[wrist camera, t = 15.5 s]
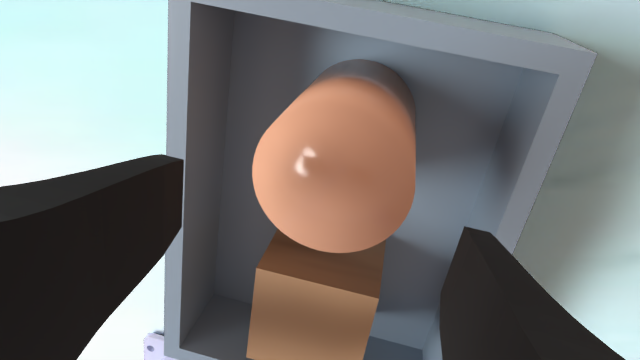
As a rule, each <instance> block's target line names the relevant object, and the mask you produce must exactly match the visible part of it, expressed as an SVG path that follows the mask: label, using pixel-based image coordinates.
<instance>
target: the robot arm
mask: <svg viewBox="0 0 640 360" xmlns="http://www.w3.org/2000/svg"><path fill="white" fill-rule="evenodd" d="M183 173H184V160H183V159H179V158H175V157H171V156H167V155H162V154H161V155H153V156H147V157H142V158H137V159H133V160H129V161H125V162H121V163H117V164H113V165H109V166H105V167H101V168H97V169H92V170H88V171H84V172H79V173H75V174H70V175H65V176H61V177H56V178H51V179H47V180H42V181H36V182H30V183H24V184H18V185H10V186H3V187H0V360H77V358H78V357H79V355H80V354H81V353H82V351H83V350H84V348H85V347H86V346H87V344H88V343H89V342H90V340H91V339H92V337H93V336H94V335H95V333H96V332H97V331H98V329H99V328H100V327H101V326H102V325H103V323H104V322H105V321H106V320H107V318H108V317H109V316H110V315H111V314H112V313H113V312H114V311H115V309H116V308H117V307H118V306H119V305H120V304H121V303H122V302H123V301H124V299H125V298H126V297H127V296H128V295H129V294H130V293H131V292H132V290H133V289H134V288H135V287H136V286H137V285H138V284H139V283H140V282H141V280H142V279H143V278H144V277H145V276H146V275H147V274H148V273H149V271H150V270H151V269H152V268H153V267H154V266H155V265H156V263H157V262H158V261H159V260H160V259H161V258H162V256H163V255H164V254H165V252H166V251H167V249H168V248H169V246H170V245H171V243H172V242H173V240H174V238H175V237H176V235H177V234H178V232H179V230H180V229H181V227H182V205H183ZM439 330H440V341H441V351H442V360H625V359H624V358H623V357H621V356H620V355H619V354H617V353H616V352H615V351H613V350H612V349H611V348H609V347H608V346H607V345H606V344H605V343H603V342H602V341H601V340H600V339H598V338H597V337H596V336H595V335H594V334H592V333H591V332H590V331H589V330H587V329H586V328H585V327H584V326H583V325H581V324H580V323H579V322H578V321H577V320H576V319H575V318H573V317H572V316H571V315H570V314H569V313H568V312H567V311H566V310H565V309H564V308H563V307H562V306H561V305H560V304H559V303H558V302H556V301H555V300H554V299H553V298H552V297H551V296H550V295H549V294H548V293H547V292H546V291H545V290H544V289H543V288H542V287H541V286H540V285H539V284H538V283H537V282H536V281H535V280H534V278H533V277H532V276H531V275H530V274H529V273H528V272H527V271H526V270H525V269H524V268H523V267H522V266H521V264H520V263H519V262H518V261H517V260H516V259H515V258H514V257H513V256H512V255H511V253H510V252H509V251H508V250H507V249H506V248H505V247H504V246H503V245H502V244H501V243H500V242H499V241H498V239H497V238H496V237H495V236H493V235H492V234H491V233H490V232H487V231H482V230H478V229H474V228H470V227H466V226H464V228H463V231H462V234H461V237H460V239H459V242H458V245H457V248H456V251H455V253H454V256H453V259H452V262H451V265H450V267H449V270H448V273H447V276H446V279H445V282H444V284H443V287H442V290H441V295H440V320H439ZM144 360H177V359H174V358H170V357H167V356H164V336H162V335H158V334H155V333H148V334H147V335H146V337H145V338H144Z"/></svg>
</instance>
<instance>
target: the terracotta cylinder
mask: <svg viewBox="0 0 640 360" xmlns="http://www.w3.org/2000/svg"><path fill="white" fill-rule="evenodd" d="M252 177H253V185H254V189H255V193H256V196H257V199H258V201H259V203H260V205H261V207H262V209H263V211H264V212H265V214H266V215H267V217H268V218H269V219H270V221H271V222H272V223H273V224H274V225H275V226H276V227H277V228H278V229H279V230H280V231H281V232H283V233H284V234H285V235H287V236H288V237H289V238H291V239H292V240H294V241H296V242H298V243H300V244H302V245H304V246H307V247H309V248H312V249H315V250H319V251H324V252H330V253H350V252H356V251H361V250H364V249H367V248H370V247H372V246H375V245H377V244H379V243H380V242H382V241H384V240H386V239H387V238H388V237H389V236H391V235H392V234H393V233H394V232H395V231H396V230H397V229H398V228H399V227H400V226H401V224H402V223H403V221H404V220H405V219H406V217H407V215H408V213H409V211H410V209H411V206H412V203H413V199H414V194H415V177H416V106H415V102H414V98H413V96H412V93H411V91H410V89H409V88H408V86H407V84H406V83H405V82H404V80H403V79H402V78H401V77H400V76H399V75H398V74H397V73H396V72H394V71H393V70H392V69H390V68H388V67H387V66H385V65H383V64H380V63H378V62H375V61H371V60H364V59H352V60H346V61H342V62H339V63H337V64H334V65H332V66H330V67H329V68H327V69H326V70H324V71H323V72H322V73H321V74H319V75H318V76H317V78H316V79H315V80H314V81H313V82H312V83H311V84H310V85H309V86H308V87H307V88H306V89H305V90H304V91H303V92H302V93H301V94H300V95H299V96H298V97H297V98H296V99H295V101H294V102H293V103H292V104H291V105H290V106H289V107H288V108H287V109H286V110H285V111H284V112H283V113H282V114H281V115H280V116H279V117H278V118H277V119H276V120H275V121H274V122H273V124H272V125H271V126H270V127H269V128H268V129H267V130H266V132H265V133H264V135H263V136H262V138H261V139H260V141H259V144H258V146H257V148H256V151H255V155H254V159H253V165H252Z"/></svg>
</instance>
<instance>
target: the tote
mask: <svg viewBox="0 0 640 360" xmlns="http://www.w3.org/2000/svg"><path fill="white" fill-rule="evenodd" d="M596 56H597V53H595V52H593V51H591V50H589V49H587V48H584V47H582V46H580V45H578V44H576V43H573V42H571V41H569V40H567V39H565V38H562V37H560V36H558V35H556V34H554V33H549V32H544V31H539V30H533V29H528V28H523V27H517V26H512V25H507V24H502V23H496V22H491V21H486V20H480V19H475V18H470V17H465V16H459V15H454V14H449V13H443V12H438V11H433V10H428V9H422V8H417V7H412V6H406V5H401V4H396V3H391V2H385V1H380V0H168V68H167V144H166V155H167V156H171V157H175V158H179V159H183V160H184V173H183V205H182V227H181V229H180V230H179V232H178V234H177V235H176V237H175V238H174V240H173V242H172V243H171V245H170V246H169V248H168V249H167V251H166V252H165V298H164V356H167V357H170V358H174V359H177V360H254V359H251V358H247V357H246V354H247V346H248V337H249V328H250V319H251V310H252V301H253V292H254V283H255V274H256V267H257V266H258V264H259V262H260V260H261V258H262V256H263V255H264V253H265V251H266V249H267V247H268V245H269V244H270V242H271V240H272V238H273V236H274V234H275V233H276V231H277V229H278V228H277V227H276V226H275V225H274V224H273V223H272V222H271V221H270V219H269V218H268V217H267V215H266V214H265V212H264V211H263V209H262V207H261V205H260V203H259V201H258V199H257V196H256V193H255V189H254V185H253V177H252V165H253V159H254V155H255V151H256V148H257V146H258V144H259V141H260V139H261V138H262V136H263V135H264V133H265V132H266V130H267V129H268V128H269V127H270V126H271V125H272V124H273V122H274V121H275V120H276V119H277V118H278V117H279V116H280V115H281V114H282V113H283V112H284V111H285V110H286V109H287V108H288V107H289V106H290V105H291V104H292V103H293V102H294V101H295V99H296V98H297V97H298V96H299V95H300V94H301V93H302V92H303V91H304V90H305V89H306V88H307V87H308V86H309V85H310V84H311V83H312V82H313V81H314V80H315V79H316V78H317V76H318V75H319V74H321V73H322V72H323V71H324V70H326V69H327V68H329V67H330V66H332V65H334V64H337V63H339V62H342V61H346V60H352V59H364V60H371V61H375V62H378V63H380V64H383V65H385V66H387V67H388V68H390V69H392V70H393V71H394V72H396V73H397V74H398V75H399V76H400V77H401V78H402V79H403V80H404V82H405V83H406V84H407V86H408V88H409V89H410V91H411V93H412V96H413V98H414V102H415V106H416V177H415V194H414V199H413V203H412V206H411V209H410V211H409V213H408V215H407V217H406V219H405V220H404V221H403V223H402V224H401V226H400V227H399V228H398V229H397V230H396V231H395V232H394V233H393V234H392V235H391V236H389V237H388V238H387V239H386V245H385V253H384V262H383V270H382V279H381V287H380V295H379V301H378V305H377V308H376V312H375V316H374V320H373V323H372V327H371V331H370V334H369V338H368V342H367V346H366V349H365V353H364V357H363V360H442V351H441V341H440V330H439V320H440V295H441V290H442V287H443V284H444V282H445V279H446V276H447V273H448V270H449V267H450V265H451V262H452V259H453V256H454V253H455V251H456V248H457V245H458V242H459V239H460V237H461V234H462V231H463V228H464V226H466V227H470V228H474V229H478V230H482V231H487V232H490V233H491V234H492V235H493V236H495V237H496V238H497V239H498V241H499V242H500V243H501V244H502V245H503V246H504V247H505V248H506V249H507V250H508V251H509V252H510V253H511V255H512V254H513V252H514V249H515V247H516V244H517V242H518V240H519V237H520V235H521V233H522V230H523V228H524V226H525V223H526V221H527V219H528V216H529V214H530V212H531V209H532V207H533V204H534V202H535V200H536V197H537V195H538V193H539V190H540V188H541V186H542V183H543V181H544V179H545V176H546V174H547V172H548V169H549V167H550V165H551V162H552V160H553V157H554V155H555V153H556V150H557V148H558V146H559V143H560V141H561V139H562V136H563V134H564V132H565V129H566V127H567V125H568V122H569V120H570V117H571V115H572V113H573V110H574V108H575V106H576V103H577V101H578V99H579V96H580V94H581V92H582V89H583V87H584V85H585V82H586V80H587V78H588V75H589V73H590V70H591V68H592V66H593V63H594V61H595V59H596Z"/></svg>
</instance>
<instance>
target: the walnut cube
mask: <svg viewBox="0 0 640 360" xmlns="http://www.w3.org/2000/svg"><path fill="white" fill-rule="evenodd" d="M385 245H386V240H384V241H382V242H380V243H379V244H377V245H375V246H372V247H370V248H367V249H364V250H361V251H356V252H350V253H330V252H324V251H319V250H315V249H312V248H309V247H307V246H304V245H302V244H300V243H298V242H296V241H294V240H292V239H291V238H289V237H288V236H287V235H285V234H284V233H283V232H281V231H280V230H279V229H277V231H276V233H275V234H274V236H273V238H272V240H271V242H270V244H269V245H268V247H267V249H266V251H265V253H264V255H263V256H262V258H261V260H260V262H259V264H258V266H257V267H256V274H255V283H254V292H253V301H252V310H251V319H250V328H249V337H248V346H247V354H246V357H247V358H251V359H254V360H363V357H364V353H365V349H366V346H367V342H368V338H369V334H370V331H371V327H372V323H373V320H374V316H375V312H376V308H377V305H378V301H379V295H380V287H381V279H382V270H383V262H384V253H385Z"/></svg>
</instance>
